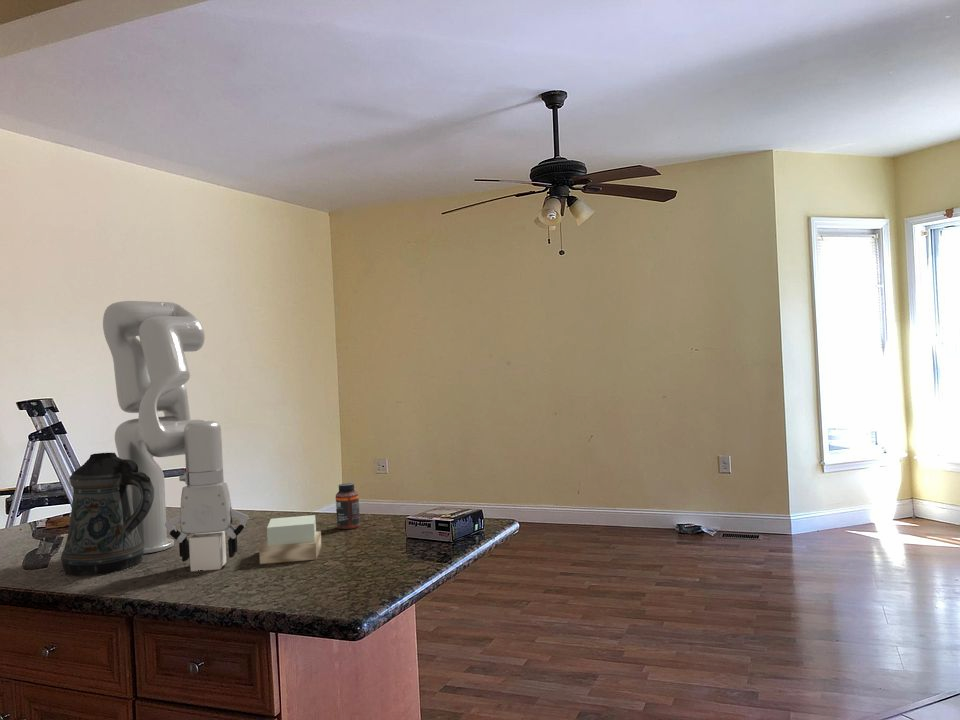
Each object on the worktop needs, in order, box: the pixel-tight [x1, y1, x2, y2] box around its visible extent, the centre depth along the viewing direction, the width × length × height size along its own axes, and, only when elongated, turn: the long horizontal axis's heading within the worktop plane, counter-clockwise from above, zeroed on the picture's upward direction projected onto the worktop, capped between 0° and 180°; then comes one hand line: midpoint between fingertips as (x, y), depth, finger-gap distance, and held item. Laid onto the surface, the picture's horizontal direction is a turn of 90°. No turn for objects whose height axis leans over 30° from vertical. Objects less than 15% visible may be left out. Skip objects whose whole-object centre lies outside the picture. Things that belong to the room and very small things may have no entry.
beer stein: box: [60, 452, 154, 577], centre depth 165 cm, size 16×19×25 cm
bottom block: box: [258, 530, 322, 565], centre depth 166 cm, size 12×12×4 cm
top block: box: [266, 514, 317, 546], centre depth 167 cm, size 10×10×4 cm
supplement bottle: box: [335, 482, 361, 530], centre depth 193 cm, size 6×6×11 cm
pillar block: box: [188, 531, 227, 572], centre depth 160 cm, size 6×6×7 cm
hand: (209, 557), depth 159 cm, fingers open, 9 cm apart
